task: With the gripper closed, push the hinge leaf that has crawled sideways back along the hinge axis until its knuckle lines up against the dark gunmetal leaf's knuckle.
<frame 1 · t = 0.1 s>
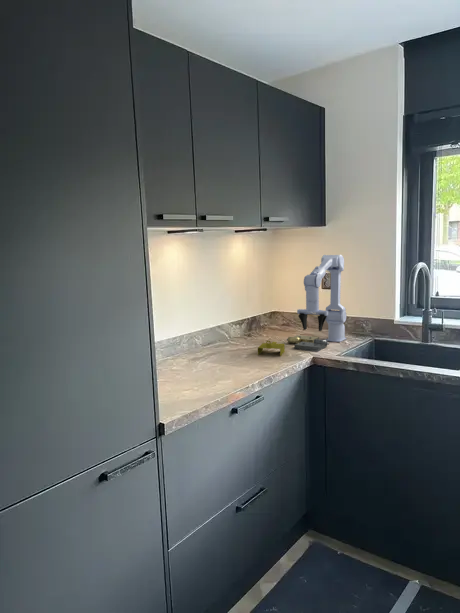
hand: (312, 330, 211), 10 cm above the worktop, tool pointing down, fingers open, 7 cm apart
bracket: (272, 354, 213), on the worktop
fixed leaf: (314, 346, 223), on the worktop
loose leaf: (302, 339, 231), point 2 cm above the worktop, slide at 8.0 cm
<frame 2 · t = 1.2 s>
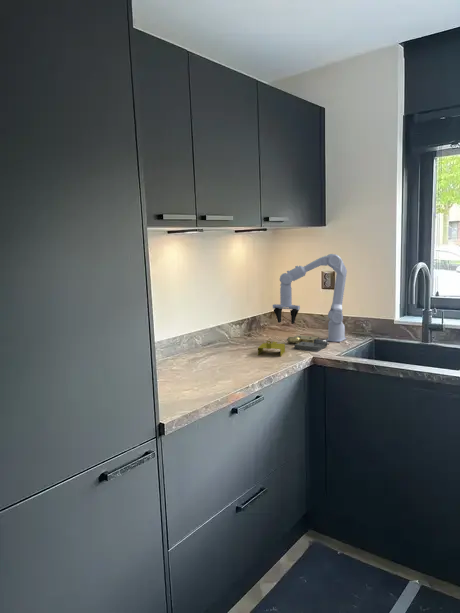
hand: (286, 322, 235), 10 cm above the worktop, tool pointing down, fingers open, 7 cm apart
nothing on the worktop moved.
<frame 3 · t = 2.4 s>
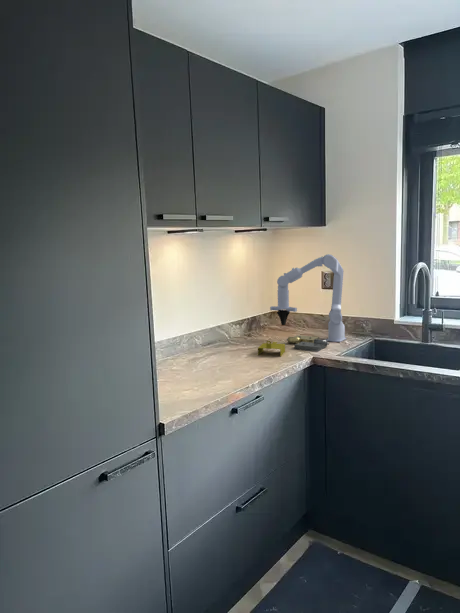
hand: (283, 324, 238), 8 cm above the worktop, tool pointing down, fingers closed
nothing on the worktop moved.
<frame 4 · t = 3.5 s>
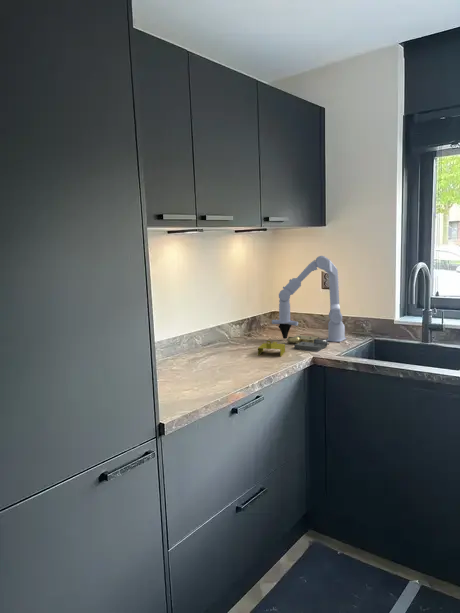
hand: (285, 338, 239), 1 cm above the worktop, tool pointing down, fingers closed
nothing on the worktop moved.
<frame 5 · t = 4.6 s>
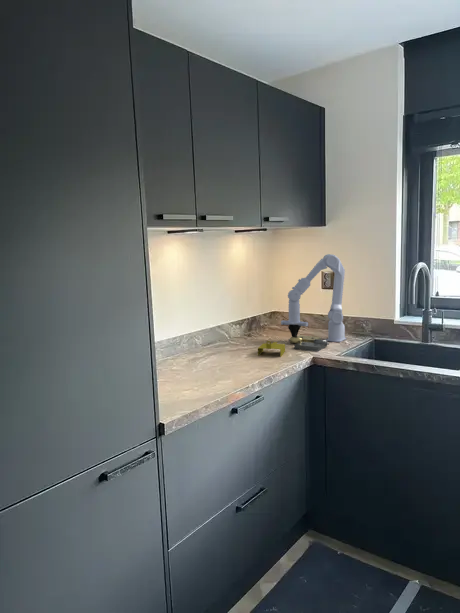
hand: (294, 339, 236), 1 cm above the worktop, tool pointing down, fingers closed
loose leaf: (304, 339, 231), point 2 cm above the worktop, slide at 6.8 cm, touching gripper
everything else where it was.
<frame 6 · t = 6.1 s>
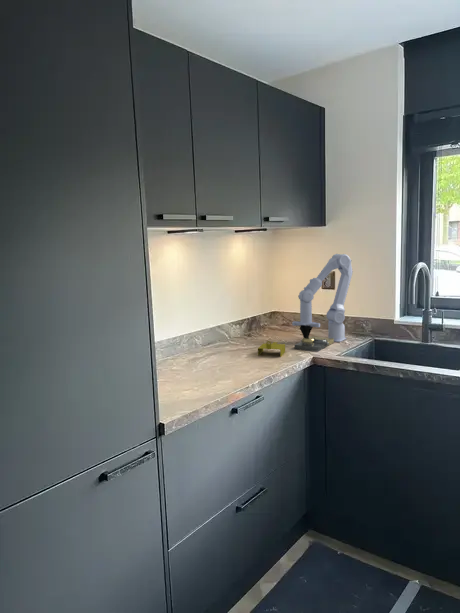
hand: (306, 340, 232), 1 cm above the worktop, tool pointing down, fingers closed
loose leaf: (316, 340, 227), point 2 cm above the worktop, slide at 0.2 cm, touching gripper
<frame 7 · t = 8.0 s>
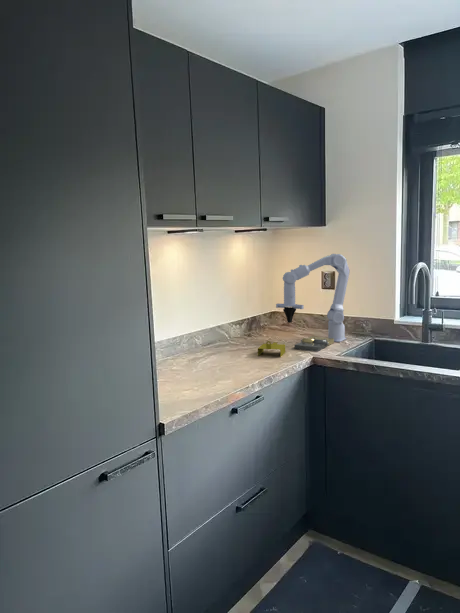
hand: (289, 322, 232), 10 cm above the worktop, tool pointing down, fingers closed
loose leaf: (316, 340, 227), point 2 cm above the worktop, slide at 0.2 cm
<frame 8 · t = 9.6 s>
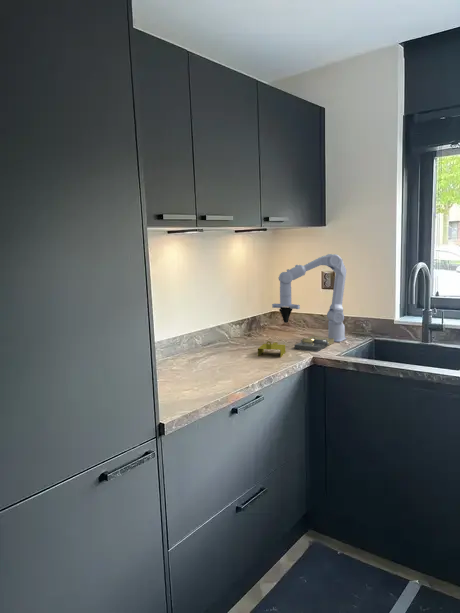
hand: (286, 322, 232), 10 cm above the worktop, tool pointing down, fingers closed
at the end: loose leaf slide at 0.2 cm; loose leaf 0.0 cm from the target spot, resting on fixed leaf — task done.
